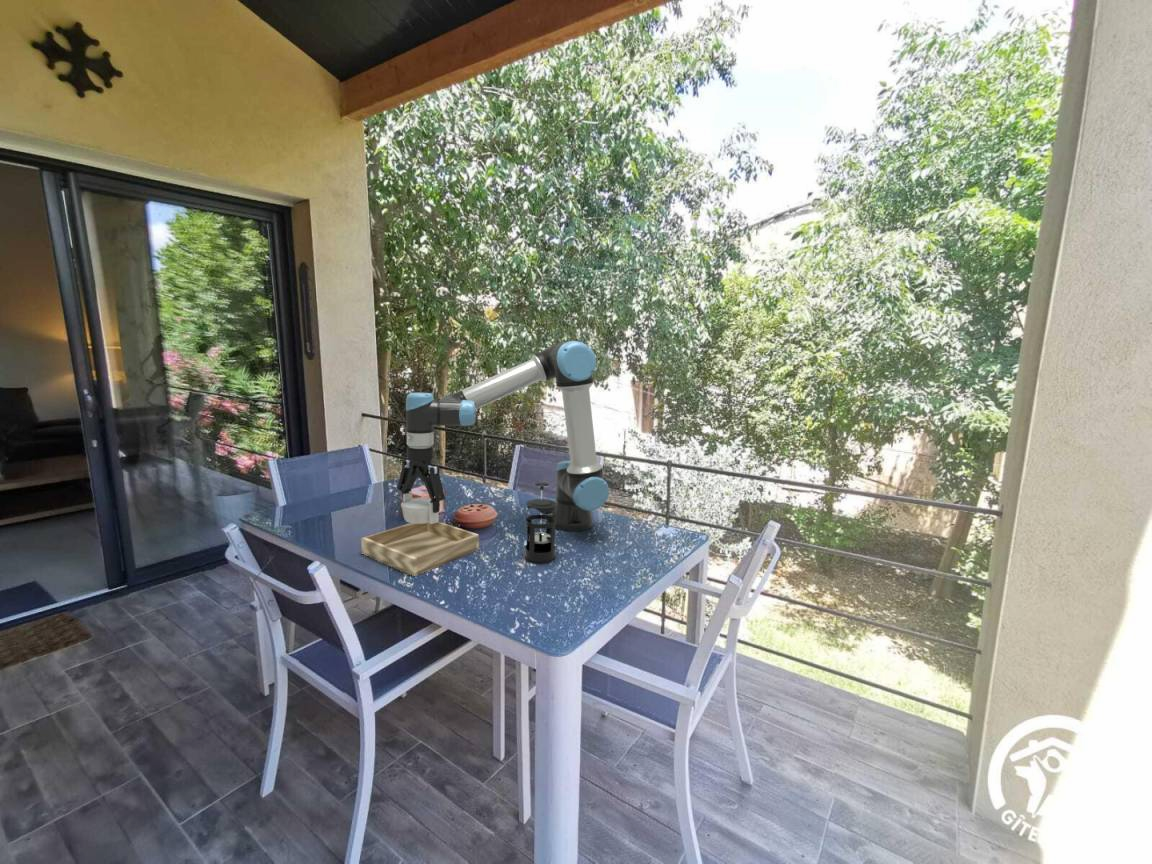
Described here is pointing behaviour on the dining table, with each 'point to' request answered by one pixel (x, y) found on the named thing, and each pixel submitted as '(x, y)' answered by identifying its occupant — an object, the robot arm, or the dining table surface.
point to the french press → (540, 539)
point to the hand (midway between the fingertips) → (420, 518)
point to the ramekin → (416, 510)
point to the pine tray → (420, 546)
